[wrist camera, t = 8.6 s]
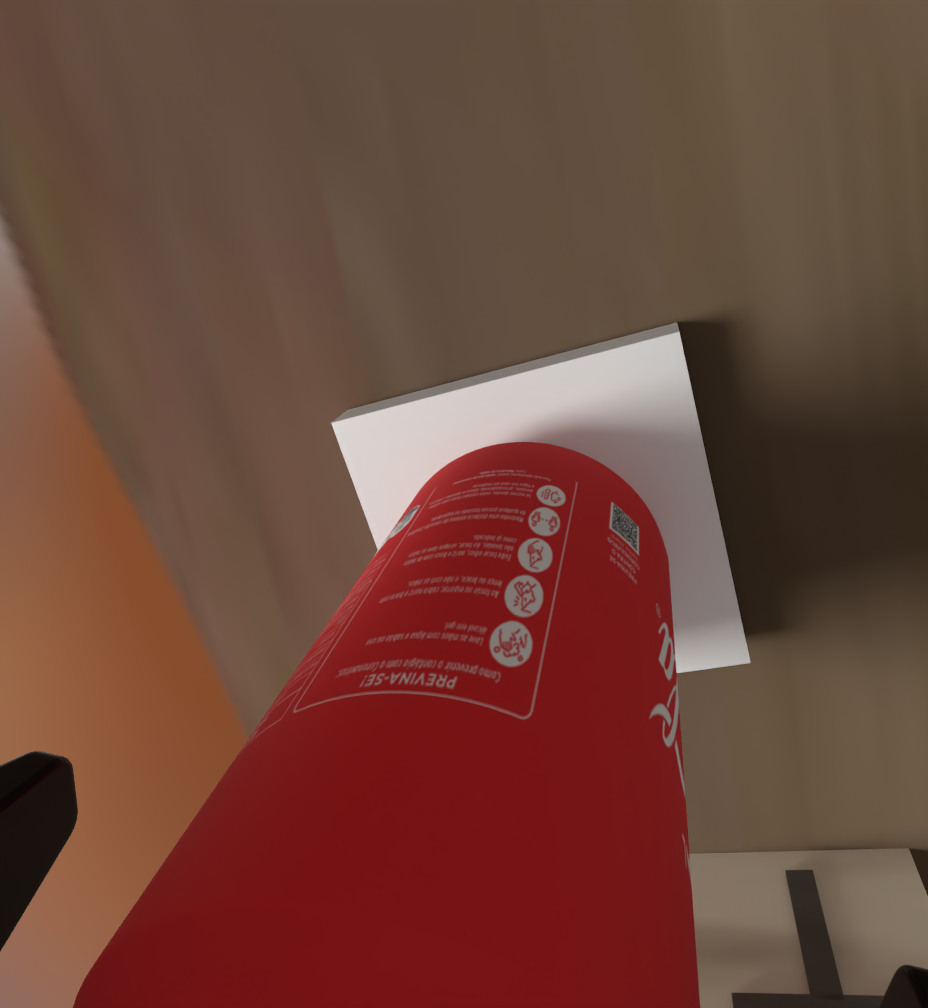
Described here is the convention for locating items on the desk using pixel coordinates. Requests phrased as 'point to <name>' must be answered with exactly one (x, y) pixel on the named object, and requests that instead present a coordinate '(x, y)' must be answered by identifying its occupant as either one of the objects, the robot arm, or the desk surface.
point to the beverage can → (451, 778)
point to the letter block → (806, 926)
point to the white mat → (588, 430)
